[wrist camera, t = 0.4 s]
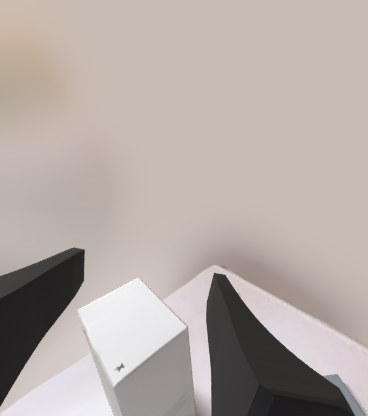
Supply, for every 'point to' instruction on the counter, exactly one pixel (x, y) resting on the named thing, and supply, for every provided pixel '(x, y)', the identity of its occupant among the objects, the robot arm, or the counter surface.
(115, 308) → the small box
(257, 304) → the counter surface
